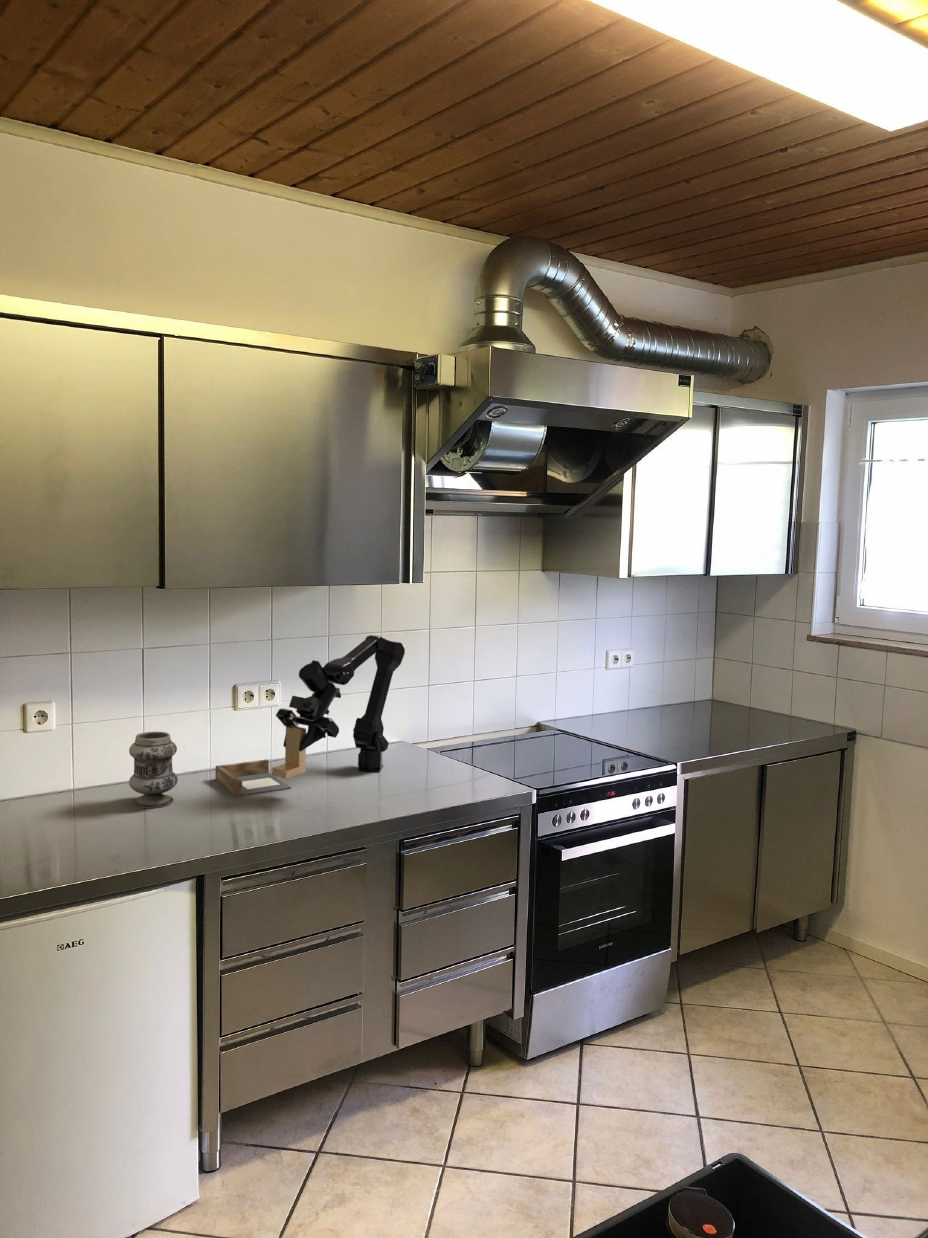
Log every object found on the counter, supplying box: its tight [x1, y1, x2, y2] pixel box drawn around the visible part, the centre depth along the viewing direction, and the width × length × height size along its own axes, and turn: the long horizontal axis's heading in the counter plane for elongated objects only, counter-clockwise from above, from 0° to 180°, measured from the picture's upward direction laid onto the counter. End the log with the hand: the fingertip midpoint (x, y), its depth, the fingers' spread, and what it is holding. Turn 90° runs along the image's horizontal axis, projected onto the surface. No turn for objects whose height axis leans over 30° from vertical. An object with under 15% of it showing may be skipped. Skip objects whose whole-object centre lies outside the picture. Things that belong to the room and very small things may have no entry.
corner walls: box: [215, 759, 270, 797], centre depth 268 cm, size 15×17×4 cm
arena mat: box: [237, 772, 292, 797], centre depth 268 cm, size 14×16×1 cm
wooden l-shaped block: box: [271, 726, 307, 779], centre depth 256 cm, size 8×5×12 cm, turn 148°
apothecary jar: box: [128, 731, 178, 809], centre depth 249 cm, size 12×12×18 cm
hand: (292, 748), depth 257 cm, fingers closed on wooden l-shaped block, 5 cm apart
